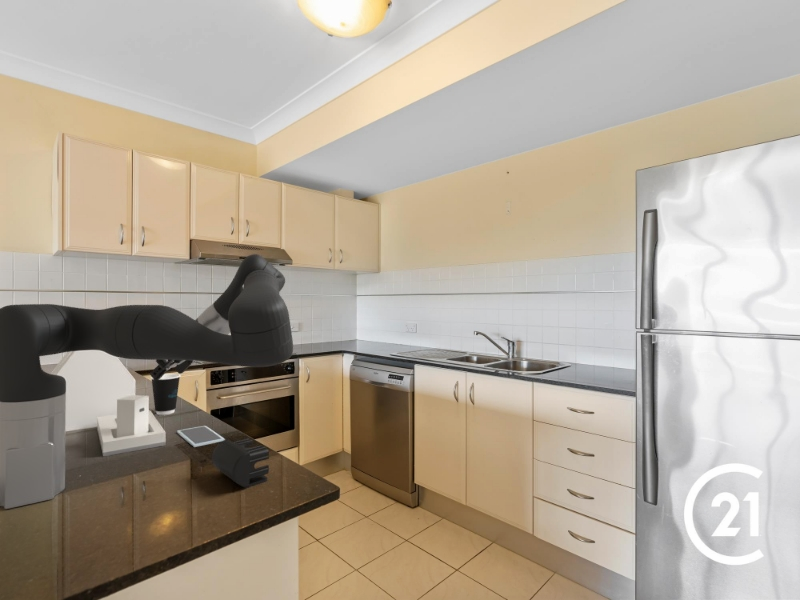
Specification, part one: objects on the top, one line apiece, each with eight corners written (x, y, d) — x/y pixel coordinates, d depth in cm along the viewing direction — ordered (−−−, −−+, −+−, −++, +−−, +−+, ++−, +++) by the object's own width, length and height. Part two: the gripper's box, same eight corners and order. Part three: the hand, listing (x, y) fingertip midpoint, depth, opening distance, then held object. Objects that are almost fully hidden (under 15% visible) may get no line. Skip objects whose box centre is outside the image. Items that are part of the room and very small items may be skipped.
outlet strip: (165, 445, 99) (165, 431, 99) (103, 456, 91) (103, 442, 91) (149, 420, 118) (149, 409, 118) (96, 428, 110) (97, 416, 110)
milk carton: (45, 434, 105) (45, 335, 105) (45, 420, 117) (46, 330, 117) (135, 421, 118) (136, 331, 118) (127, 409, 129) (128, 328, 129)
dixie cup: (179, 414, 124) (179, 377, 124) (148, 417, 121) (148, 379, 121) (181, 408, 131) (181, 372, 131) (152, 410, 128) (152, 374, 128)
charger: (148, 437, 102) (149, 395, 102) (134, 443, 97) (135, 400, 97) (131, 436, 102) (131, 395, 102) (116, 442, 98) (117, 399, 98)
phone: (224, 443, 103) (224, 438, 103) (194, 449, 98) (194, 444, 98) (205, 429, 113) (205, 425, 113) (176, 434, 108) (176, 430, 108)
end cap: (211, 476, 82) (211, 442, 82) (246, 466, 87) (246, 434, 87) (232, 494, 75) (233, 456, 75) (269, 482, 80) (270, 446, 80)
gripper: (205, 341, 90) (155, 392, 91) (238, 335, 104) (194, 380, 106) (183, 315, 91) (133, 367, 92) (218, 313, 105) (175, 358, 106)
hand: (166, 374), depth 99 cm, fingers open, 8 cm apart
